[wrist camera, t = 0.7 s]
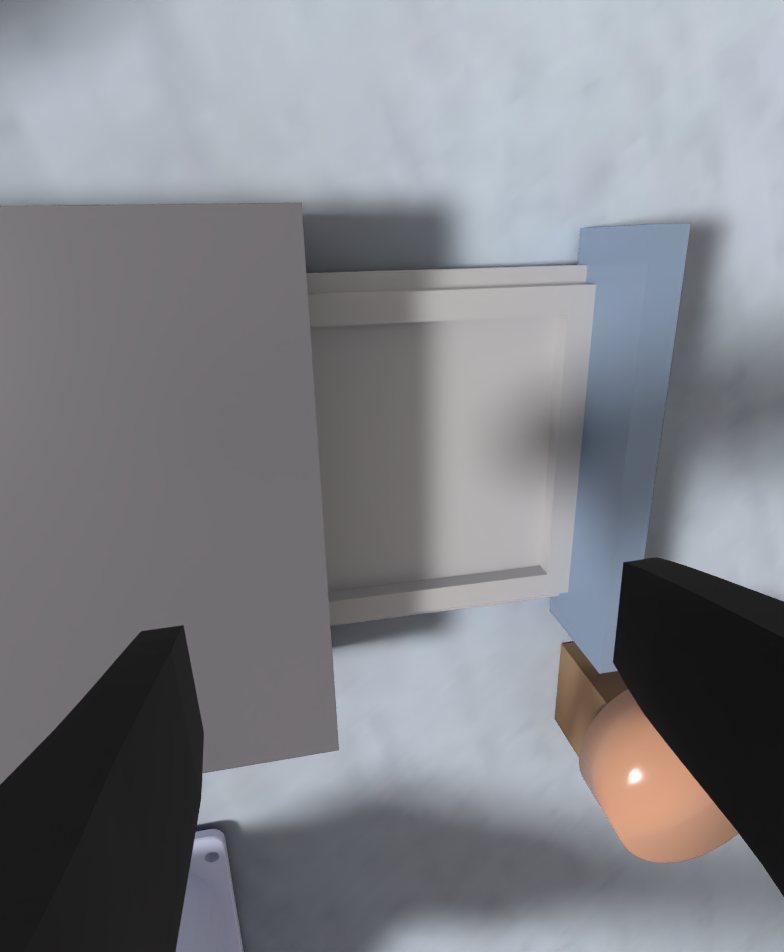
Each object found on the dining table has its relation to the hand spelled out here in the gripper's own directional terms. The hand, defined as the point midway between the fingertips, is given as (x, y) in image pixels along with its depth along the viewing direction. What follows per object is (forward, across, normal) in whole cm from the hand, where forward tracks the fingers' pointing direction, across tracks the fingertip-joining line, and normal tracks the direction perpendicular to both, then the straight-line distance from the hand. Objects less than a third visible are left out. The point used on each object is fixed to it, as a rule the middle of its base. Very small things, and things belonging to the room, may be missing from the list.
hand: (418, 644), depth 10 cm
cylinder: (+6, -10, +10) cm, 16 cm away
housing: (+10, +6, 0) cm, 12 cm away
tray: (+10, -3, 0) cm, 10 cm away
